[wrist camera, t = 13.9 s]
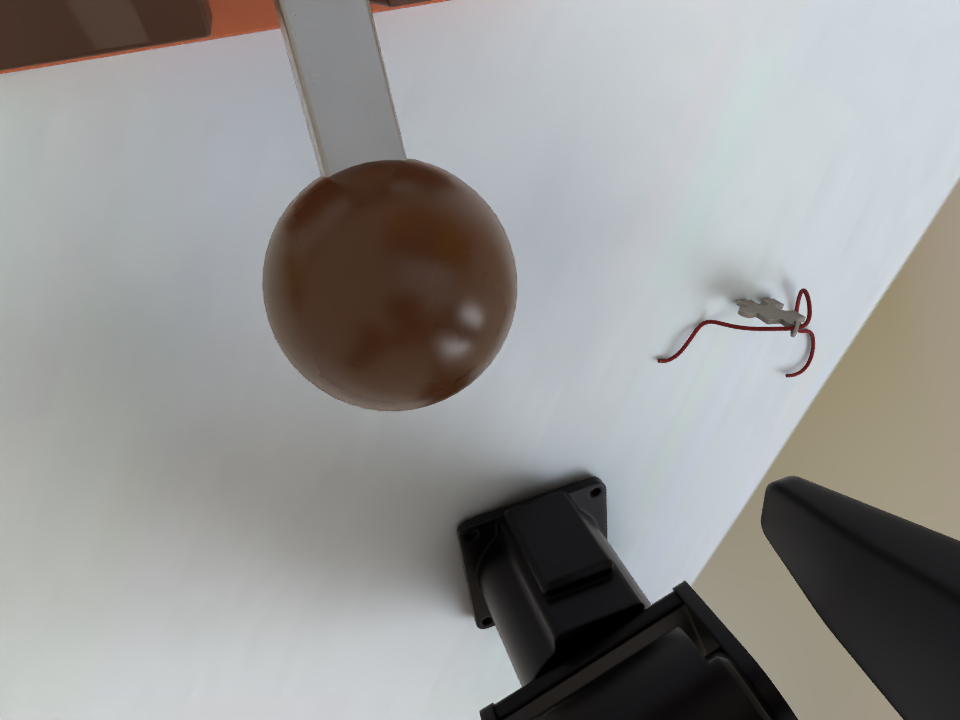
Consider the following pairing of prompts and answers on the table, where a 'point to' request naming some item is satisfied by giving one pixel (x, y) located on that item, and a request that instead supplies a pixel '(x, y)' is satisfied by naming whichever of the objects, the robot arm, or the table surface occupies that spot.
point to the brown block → (128, 26)
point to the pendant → (769, 315)
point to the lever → (378, 237)
